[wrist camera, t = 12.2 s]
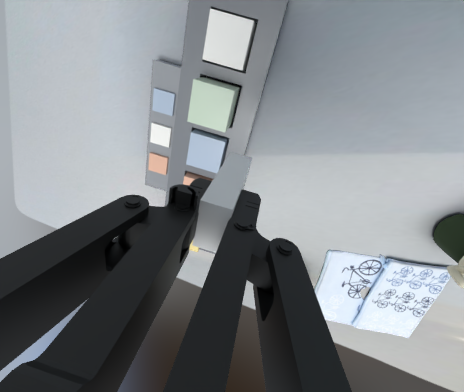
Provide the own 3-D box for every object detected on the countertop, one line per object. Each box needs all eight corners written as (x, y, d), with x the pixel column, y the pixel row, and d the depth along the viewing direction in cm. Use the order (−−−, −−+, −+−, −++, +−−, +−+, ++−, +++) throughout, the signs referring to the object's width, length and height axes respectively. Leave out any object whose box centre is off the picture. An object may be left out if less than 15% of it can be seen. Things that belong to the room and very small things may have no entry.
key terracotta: (221, 174, 38) (215, 185, 34) (215, 198, 40) (209, 211, 37) (192, 165, 38) (184, 176, 34) (188, 190, 40) (180, 202, 37)
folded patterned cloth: (402, 332, 49) (407, 342, 47) (301, 311, 51) (301, 320, 49) (453, 263, 39) (462, 273, 37) (326, 241, 41) (328, 250, 40)
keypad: (287, 3, 27) (288, -3, 24) (219, 243, 45) (215, 254, 42) (166, -31, 27) (154, -41, 24) (147, 221, 45) (139, 230, 43)
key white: (257, 25, 28) (253, 20, 24) (246, 69, 30) (242, 70, 27) (218, 14, 28) (210, 8, 25) (211, 59, 30) (202, 59, 27)
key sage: (239, 87, 29) (234, 90, 26) (231, 124, 32) (225, 132, 28) (203, 76, 29) (193, 78, 26) (197, 114, 32) (187, 121, 28)
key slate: (230, 134, 34) (225, 142, 31) (223, 163, 37) (217, 173, 33) (199, 125, 35) (191, 132, 31) (194, 154, 37) (186, 164, 33)
